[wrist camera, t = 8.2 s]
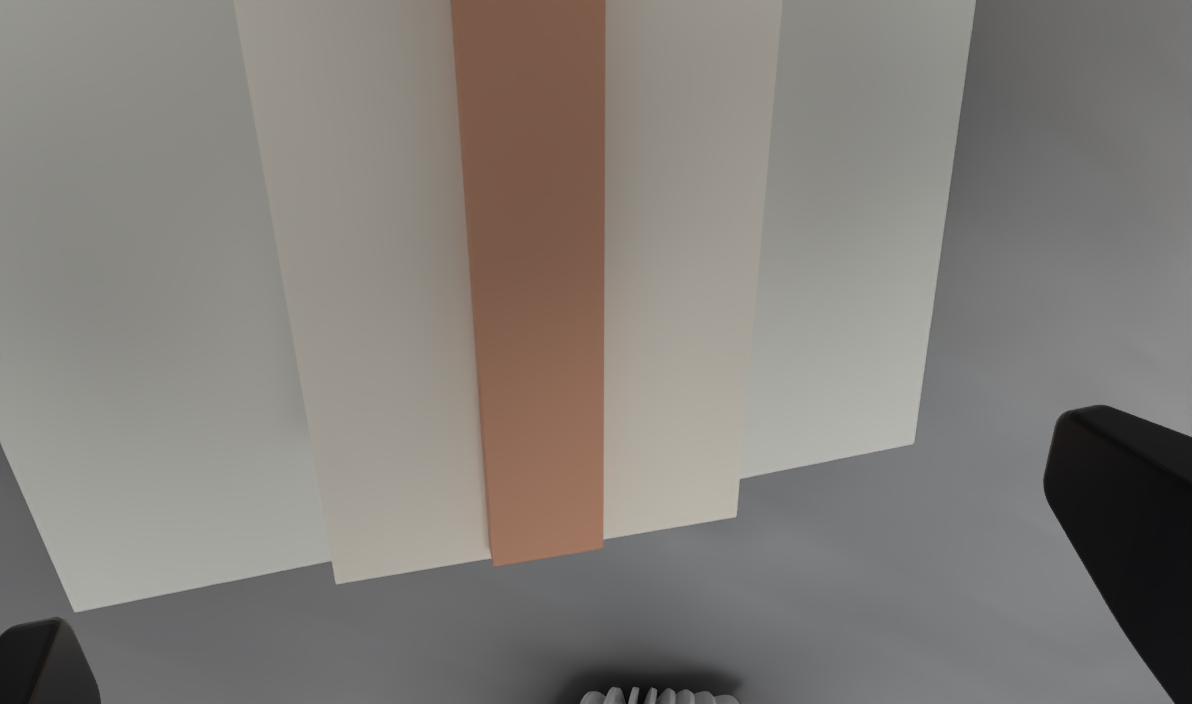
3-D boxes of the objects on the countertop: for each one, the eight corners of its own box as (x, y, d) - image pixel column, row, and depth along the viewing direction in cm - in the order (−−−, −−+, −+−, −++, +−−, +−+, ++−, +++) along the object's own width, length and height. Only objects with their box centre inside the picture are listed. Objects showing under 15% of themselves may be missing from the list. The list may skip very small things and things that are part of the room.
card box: (666, 389, 19) (745, 534, 16) (327, 437, 18) (336, 604, 15) (690, -160, 15) (808, -115, 11) (230, -146, 13) (214, -90, 10)
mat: (1015, -405, 14) (1033, -406, 14) (904, 432, 22) (914, 443, 22) (-325, -339, 12) (-342, -340, 11) (77, 596, 19) (74, 612, 19)
